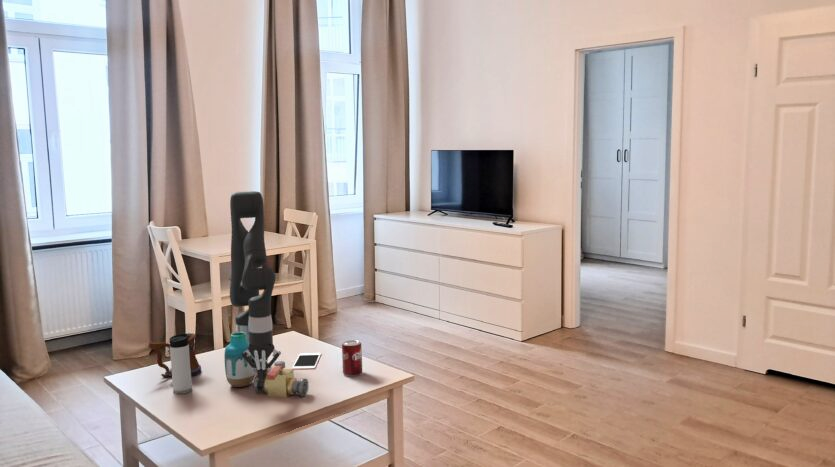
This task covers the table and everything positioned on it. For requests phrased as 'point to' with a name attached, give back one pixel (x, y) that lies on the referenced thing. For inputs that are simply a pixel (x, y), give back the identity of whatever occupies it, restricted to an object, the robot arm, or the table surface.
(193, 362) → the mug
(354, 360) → the soda can
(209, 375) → the table surface
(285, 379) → the valve pipe
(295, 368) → the cell phone
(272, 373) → the lever
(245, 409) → the table surface
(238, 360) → the vase
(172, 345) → the travel mug
